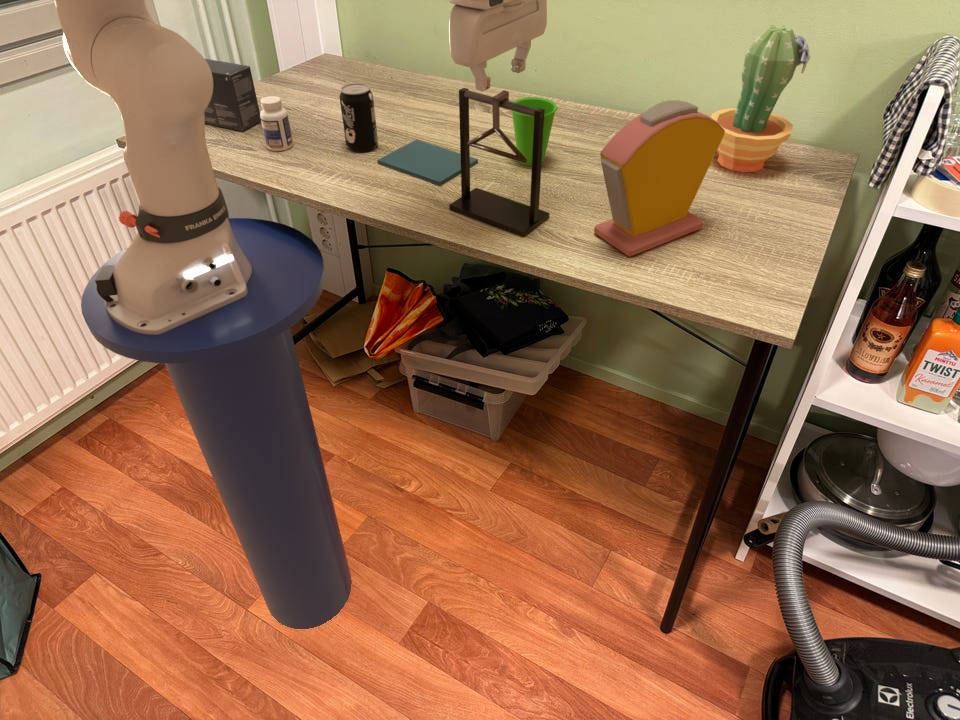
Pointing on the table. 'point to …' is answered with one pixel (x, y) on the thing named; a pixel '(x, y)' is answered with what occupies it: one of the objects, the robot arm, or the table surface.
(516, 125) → the cup
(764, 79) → the potted cactus
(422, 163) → the mat
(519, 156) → the hanger
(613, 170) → the yellow fan-shaped flat fixture
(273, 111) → the pill bottle
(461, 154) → the rack
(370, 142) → the beverage can
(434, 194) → the table surface
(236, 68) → the small box
